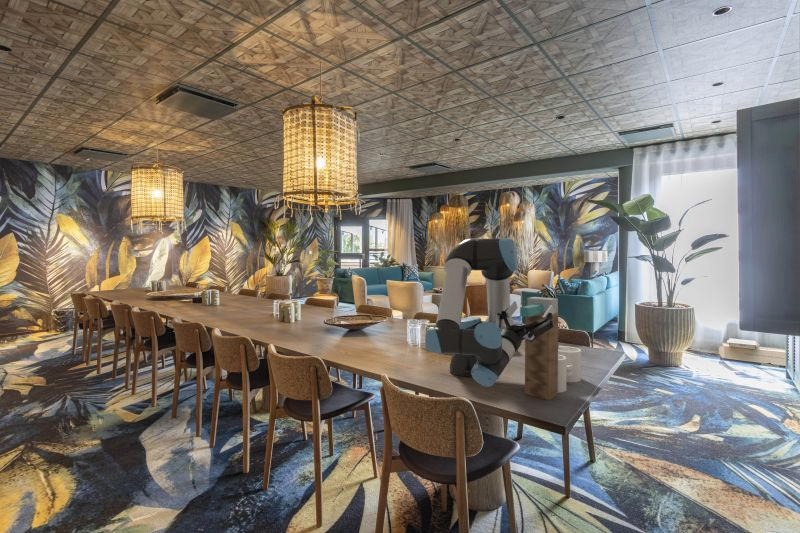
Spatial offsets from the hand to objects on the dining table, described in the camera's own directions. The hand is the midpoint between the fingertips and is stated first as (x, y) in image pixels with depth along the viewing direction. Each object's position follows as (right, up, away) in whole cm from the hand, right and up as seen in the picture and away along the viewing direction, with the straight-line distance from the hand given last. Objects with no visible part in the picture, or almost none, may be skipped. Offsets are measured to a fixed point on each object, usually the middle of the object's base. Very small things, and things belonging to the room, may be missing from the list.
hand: (533, 306), depth 138 cm
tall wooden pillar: (+5, -33, +6) cm, 33 cm away
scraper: (+1, -3, +1) cm, 3 cm away
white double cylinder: (+17, -32, +18) cm, 41 cm away
